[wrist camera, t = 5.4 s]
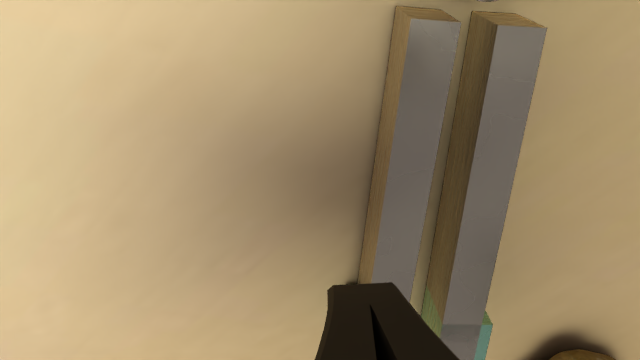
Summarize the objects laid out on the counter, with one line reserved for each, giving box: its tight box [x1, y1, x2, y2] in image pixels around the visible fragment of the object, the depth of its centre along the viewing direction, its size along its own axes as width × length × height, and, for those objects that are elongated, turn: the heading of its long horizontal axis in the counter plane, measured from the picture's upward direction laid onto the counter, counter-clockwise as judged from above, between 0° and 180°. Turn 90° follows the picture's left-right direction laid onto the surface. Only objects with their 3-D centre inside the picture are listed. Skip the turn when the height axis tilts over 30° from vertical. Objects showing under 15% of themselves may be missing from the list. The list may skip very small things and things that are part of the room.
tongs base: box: [421, 0, 547, 360], centre depth 19 cm, size 4×15×2 cm, turn 176°
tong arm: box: [357, 6, 461, 302], centre depth 20 cm, size 2×12×2 cm, turn 175°
